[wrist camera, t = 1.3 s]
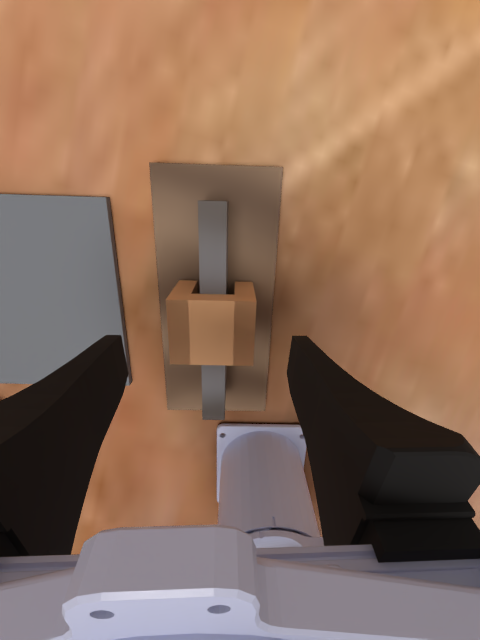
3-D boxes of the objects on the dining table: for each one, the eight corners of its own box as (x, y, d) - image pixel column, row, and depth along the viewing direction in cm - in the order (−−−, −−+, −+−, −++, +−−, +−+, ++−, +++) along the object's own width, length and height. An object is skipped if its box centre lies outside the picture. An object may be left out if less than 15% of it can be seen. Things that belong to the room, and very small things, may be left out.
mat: (131, 381, 25) (129, 385, 24) (-17, 378, 24) (-23, 382, 24) (109, 197, 20) (105, 197, 19) (-80, 191, 19) (-90, 191, 19)
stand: (264, 403, 26) (269, 443, 22) (170, 401, 26) (157, 441, 21) (280, 168, 19) (293, 160, 15) (153, 164, 19) (130, 154, 15)
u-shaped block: (250, 336, 22) (253, 365, 18) (181, 334, 22) (169, 364, 18) (252, 282, 20) (256, 301, 16) (179, 280, 20) (165, 299, 16)
